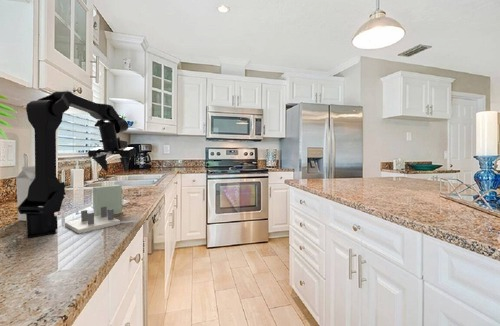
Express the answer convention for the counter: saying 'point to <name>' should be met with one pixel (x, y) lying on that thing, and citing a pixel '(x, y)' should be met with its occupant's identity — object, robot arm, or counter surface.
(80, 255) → the counter surface
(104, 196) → the grey upright panel
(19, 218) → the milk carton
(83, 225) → the cabinet base
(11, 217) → the counter surface
